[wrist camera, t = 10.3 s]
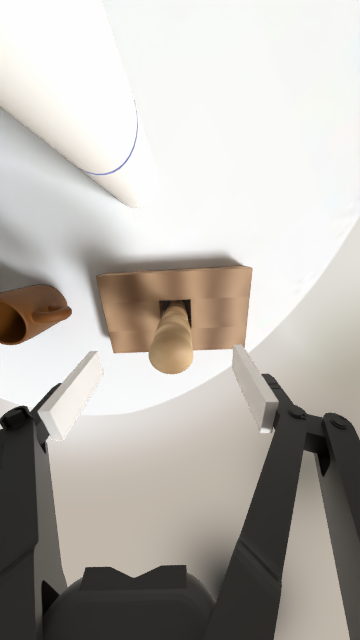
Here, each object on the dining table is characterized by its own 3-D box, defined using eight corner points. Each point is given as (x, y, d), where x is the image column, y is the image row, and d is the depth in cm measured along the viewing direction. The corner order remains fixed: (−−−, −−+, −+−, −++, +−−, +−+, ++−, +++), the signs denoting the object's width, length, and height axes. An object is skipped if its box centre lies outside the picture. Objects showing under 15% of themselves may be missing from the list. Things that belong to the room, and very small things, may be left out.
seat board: (120, 342, 36) (113, 353, 32) (106, 273, 30) (95, 276, 27) (237, 337, 35) (244, 348, 31) (243, 265, 29) (252, 267, 26)
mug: (85, 280, 31) (47, 292, 22) (96, 319, 34) (66, 343, 25) (22, 284, 31) (-40, 298, 23) (37, 323, 34) (-12, 347, 26)
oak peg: (165, 319, 34) (151, 374, 19) (163, 296, 32) (146, 337, 17) (189, 318, 33) (193, 373, 19) (188, 295, 32) (192, 335, 17)
